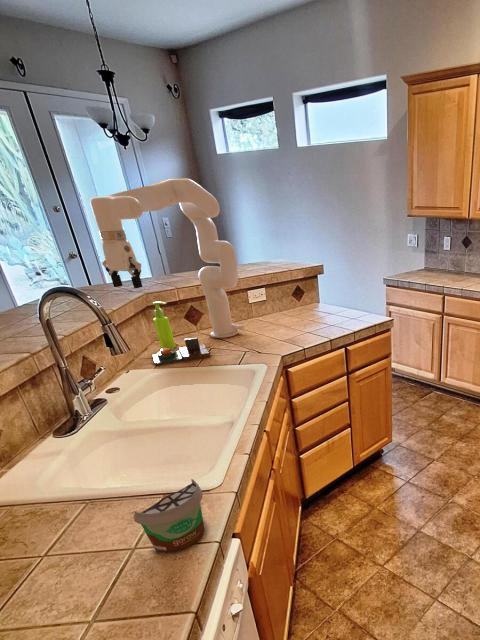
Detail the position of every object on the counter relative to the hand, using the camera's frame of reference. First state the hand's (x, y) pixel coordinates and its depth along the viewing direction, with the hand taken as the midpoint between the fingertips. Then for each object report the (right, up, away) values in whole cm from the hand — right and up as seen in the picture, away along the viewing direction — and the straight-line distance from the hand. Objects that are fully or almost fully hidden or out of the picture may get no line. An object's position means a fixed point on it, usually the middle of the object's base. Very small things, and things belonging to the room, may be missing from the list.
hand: (128, 287), depth 157 cm
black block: (+13, -19, +24) cm, 33 cm away
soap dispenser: (-3, -16, +35) cm, 39 cm away
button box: (+4, -24, +20) cm, 31 cm away
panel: (+13, -21, +25) cm, 35 cm away
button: (+4, -21, +19) cm, 29 cm away
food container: (+59, -73, -75) cm, 120 cm away
